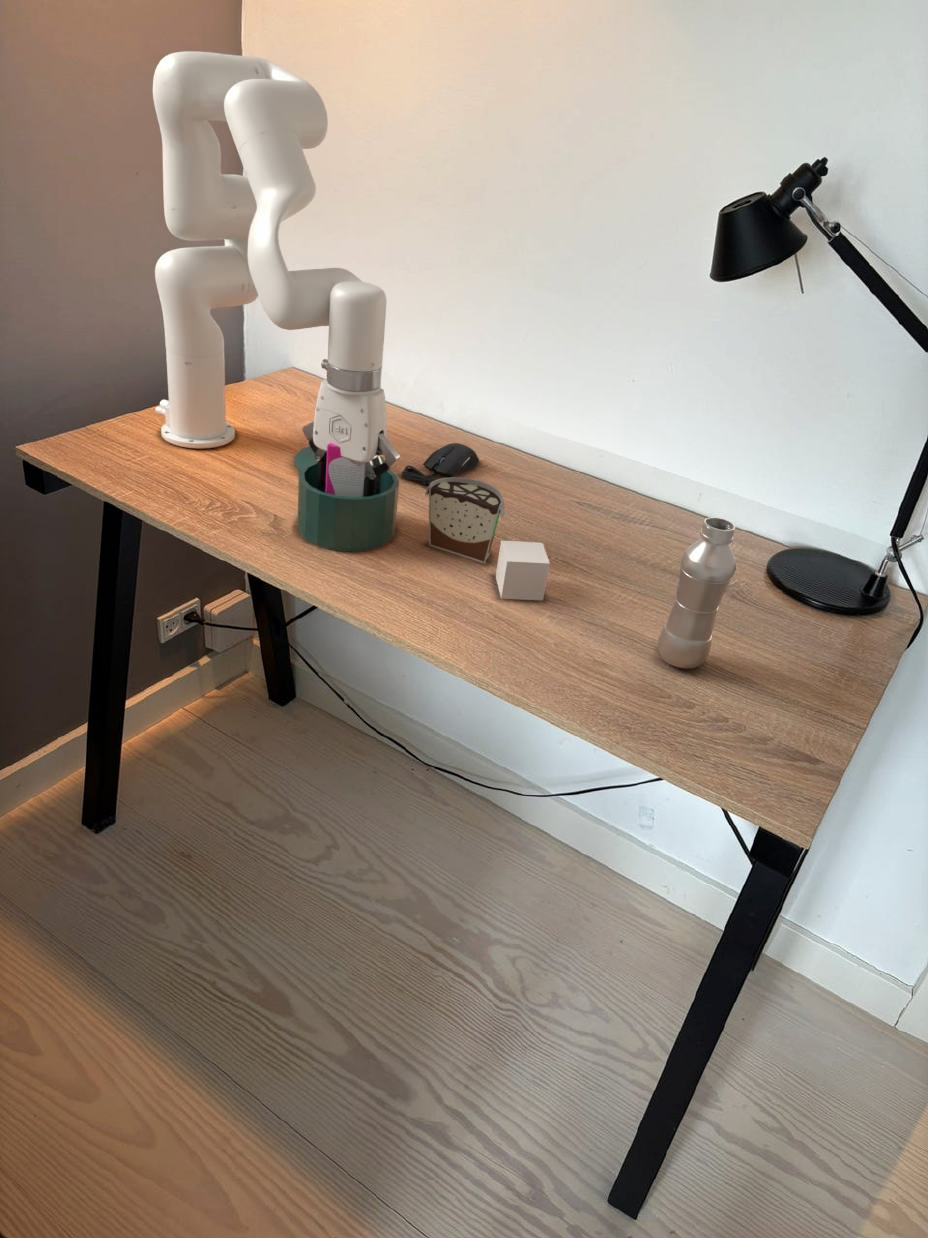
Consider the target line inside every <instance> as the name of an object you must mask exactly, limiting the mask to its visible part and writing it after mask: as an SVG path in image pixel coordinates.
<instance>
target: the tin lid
mask: <svg viewBox="0 0 928 1238" xmlns="http://www.w3.org/2000/svg"><path fill="white" fill-rule="evenodd" d="M314 455H315V453H314V452H313V450H312V449H311V447H310V446H309V445H308V446H306V447H304V448H301V449H300V450H298V451H297V452H296V453H295V455H294V458H293V459H294V460H293V462H294V465H295V468H296V469H297V470H298V471H299V472H300V471H301V470H302V468H303V467H304V466H306V465H308V464H310V463H312V462H314V461H317V460H316V459H315V457H314ZM380 458H381V460H382V463H383V462H384V461H385V460H386V459H384V458H383V457H382V455H380ZM371 461H372V460H371ZM372 462H373V461H372Z"/></svg>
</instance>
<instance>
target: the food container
mask: <svg viewBox="0 0 928 1238" xmlns="http://www.w3.org/2000/svg"><path fill="white" fill-rule="evenodd" d="M437 479H438V478H437ZM424 495H425V496H428V546H429V547H432V548H435V549H438V550H441V551H445V552H447V553H450V554H454V555H456V556H460V557H463V558H465V559H468V560H472V561H474V562H477V563H478V562H479V563H481V564H484V565H485V564H487V562H488V561H489V557H490V553H491V549H492V545H493V542H494V537H495V534H496V530H497V526H498V523H499V519H503V518H504V516H505V513H506V510H505V509H506V508H505V507H506V506H505V500H504V495H503V494H502V493H501V491H500V490H499V489H498V488H496V487H495V486H493V485H491V484H489V483H487V482H484V481H482V480H477V479H474V478H468V477H457V476H454V477H451V478H450V477H443V478H439V479H438V480H435V481H432V482H431V483H430V484H429V486H426V491H425V494H424Z"/></svg>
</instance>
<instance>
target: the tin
mask: <svg viewBox="0 0 928 1238" xmlns="http://www.w3.org/2000/svg"><path fill="white" fill-rule="evenodd" d="M372 463H373V462H372ZM373 466H374V464H373ZM374 468H375V466H374ZM317 474H318V461H314V462H312V463H310V464H308V465H306V466H304V467H303V468H302V470H301V471H299V472H298V487H297V490H298V491H297V530H298V532H299V534H300V535H301V537H302V538H304V539H305V540H306V541H308V542H310V543H311V544H313V545H315V546H318V547H320V548H324V549H327V550H332V551H339V552H365V551H370V550H374V549H378V548H380V547H383V546H384V545H387V544H388V543H390V541H391V540H392V539H393V537H394V535H395V531H396V524H397V514H398V513H397V512H398V511H397V510H398V503H399V501H398V500H399V488H400V480H399V478H398V475H397V474H396V473H395V472H393V470H391V469H389V470H388V471H386V472H385V473H384V474H382V475H381V483H380V493H379V494H377V495H373V496H368V497H345V496H336V495H332V494H329V493H326V485H325V486H324V487H320V486H318V476H317Z"/></svg>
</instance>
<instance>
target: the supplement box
mask: <svg viewBox="0 0 928 1238" xmlns="http://www.w3.org/2000/svg"><path fill="white" fill-rule="evenodd" d="M366 477H368V474H367V472H366V469H365V463H359V462H356V461H353V460H350V459H347V458H345V457H343V456H341V450H340V447H339V446H337V445H335V444H331V443H329V444H328V445H327V466H326V493H329V494H332V495H336V496H345V497H363V490H364V479H365V478H366Z"/></svg>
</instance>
